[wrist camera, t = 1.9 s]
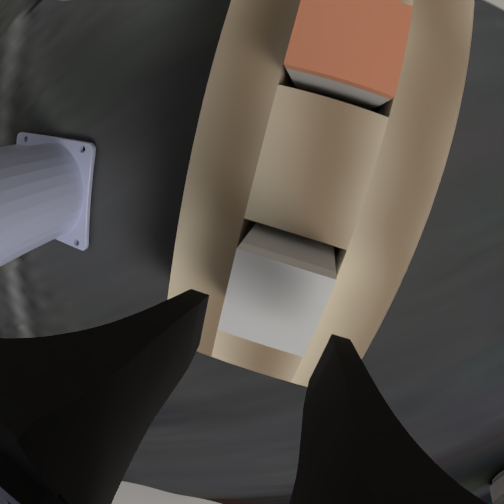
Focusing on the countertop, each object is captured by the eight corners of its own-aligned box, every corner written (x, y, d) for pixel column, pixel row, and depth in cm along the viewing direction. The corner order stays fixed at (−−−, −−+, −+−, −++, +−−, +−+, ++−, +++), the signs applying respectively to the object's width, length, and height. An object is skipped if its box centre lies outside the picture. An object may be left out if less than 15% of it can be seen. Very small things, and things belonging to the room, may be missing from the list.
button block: (195, 296, 21) (163, 338, 16) (272, -23, 13) (255, -67, 8) (339, 341, 20) (340, 395, 15) (440, 25, 12) (474, -5, 7)
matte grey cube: (245, 279, 17) (217, 329, 12) (262, 215, 15) (236, 248, 11) (310, 300, 16) (303, 357, 12) (332, 237, 15) (336, 279, 11)
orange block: (295, 87, 13) (283, 63, 8) (313, 22, 11) (307, -25, 7) (371, 110, 12) (395, 96, 8) (387, 43, 11) (413, 6, 7)
